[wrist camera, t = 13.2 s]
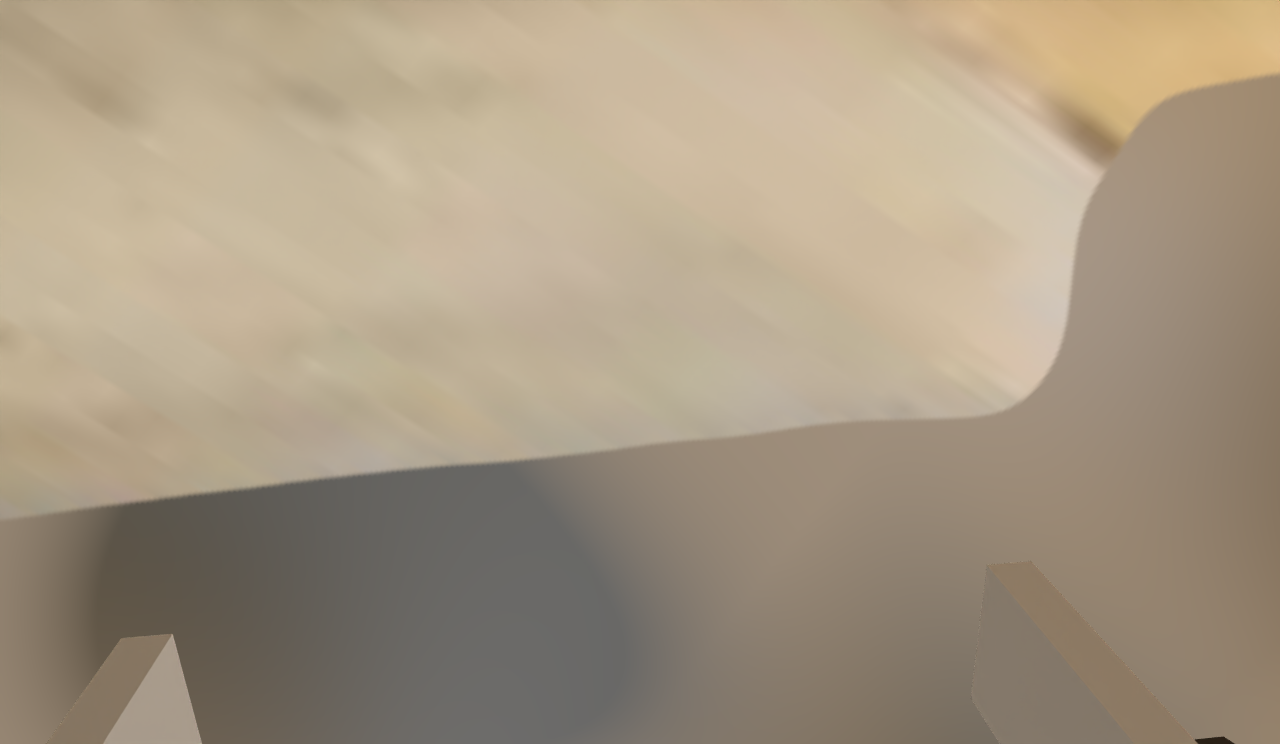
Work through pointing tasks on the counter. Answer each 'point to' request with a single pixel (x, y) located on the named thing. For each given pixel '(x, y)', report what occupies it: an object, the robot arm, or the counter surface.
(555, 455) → the counter surface
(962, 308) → the counter surface
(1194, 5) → the counter surface
